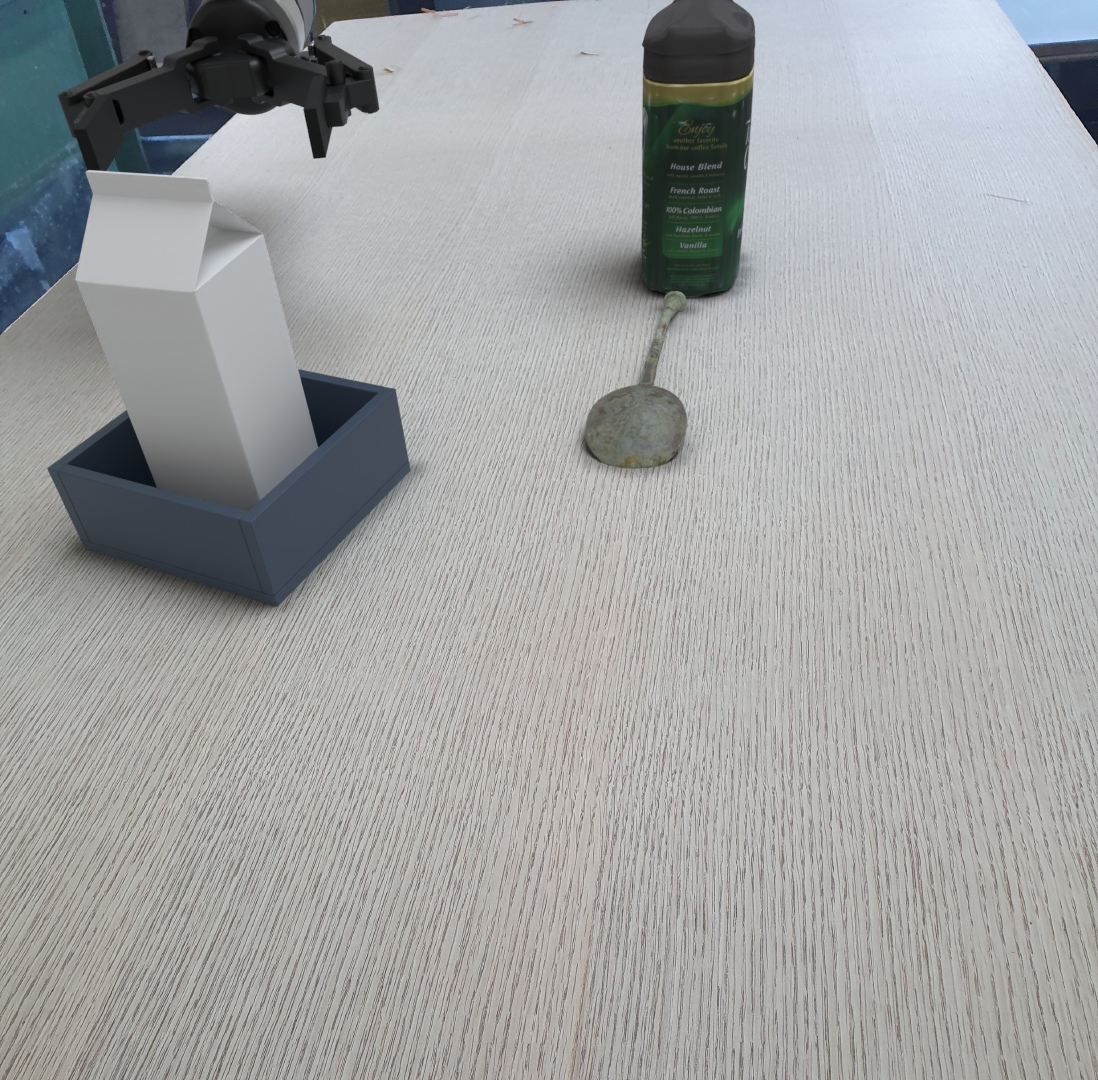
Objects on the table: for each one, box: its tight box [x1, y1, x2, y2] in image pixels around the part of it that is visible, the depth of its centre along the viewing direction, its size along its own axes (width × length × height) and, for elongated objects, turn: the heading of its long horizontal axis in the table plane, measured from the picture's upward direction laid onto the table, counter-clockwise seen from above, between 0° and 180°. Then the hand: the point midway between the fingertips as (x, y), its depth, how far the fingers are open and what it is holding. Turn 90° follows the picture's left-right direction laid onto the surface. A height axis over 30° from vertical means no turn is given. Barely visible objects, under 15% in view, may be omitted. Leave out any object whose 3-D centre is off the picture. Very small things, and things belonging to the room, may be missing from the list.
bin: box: [47, 368, 412, 607], centre depth 65 cm, size 15×15×6 cm
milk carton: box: [74, 170, 318, 512], centre depth 60 cm, size 7×7×19 cm
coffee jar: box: [640, 0, 756, 298], centre depth 79 cm, size 10×8×19 cm
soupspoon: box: [584, 291, 688, 470], centre depth 74 cm, size 22×3×7 cm
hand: (201, 144), depth 64 cm, fingers open, 13 cm apart
